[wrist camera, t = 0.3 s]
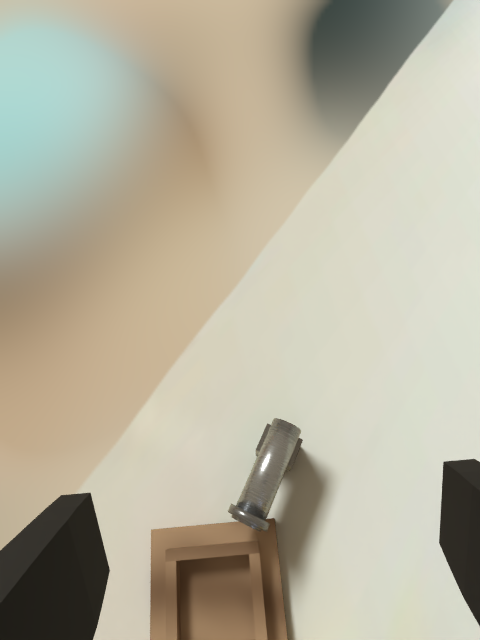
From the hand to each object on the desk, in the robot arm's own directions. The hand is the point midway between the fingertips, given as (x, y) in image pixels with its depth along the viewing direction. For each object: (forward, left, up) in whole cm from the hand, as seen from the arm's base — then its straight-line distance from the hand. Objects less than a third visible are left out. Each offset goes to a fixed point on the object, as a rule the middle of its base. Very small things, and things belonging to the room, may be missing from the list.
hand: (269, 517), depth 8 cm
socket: (-5, +4, -29) cm, 29 cm away
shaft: (+3, -1, -29) cm, 29 cm away
